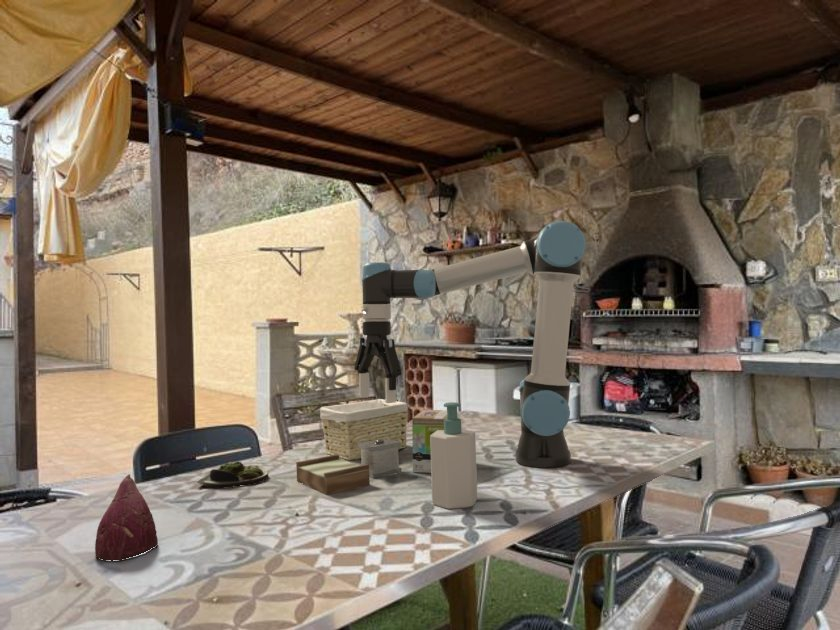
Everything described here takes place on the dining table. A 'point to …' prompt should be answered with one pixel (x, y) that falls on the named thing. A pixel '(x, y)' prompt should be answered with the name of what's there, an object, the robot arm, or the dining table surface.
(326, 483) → the stand
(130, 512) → the vegetable
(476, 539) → the dining table surface
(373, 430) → the storage basket
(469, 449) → the soap bottle
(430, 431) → the tea box
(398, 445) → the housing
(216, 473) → the salad plate
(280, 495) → the dining table surface
